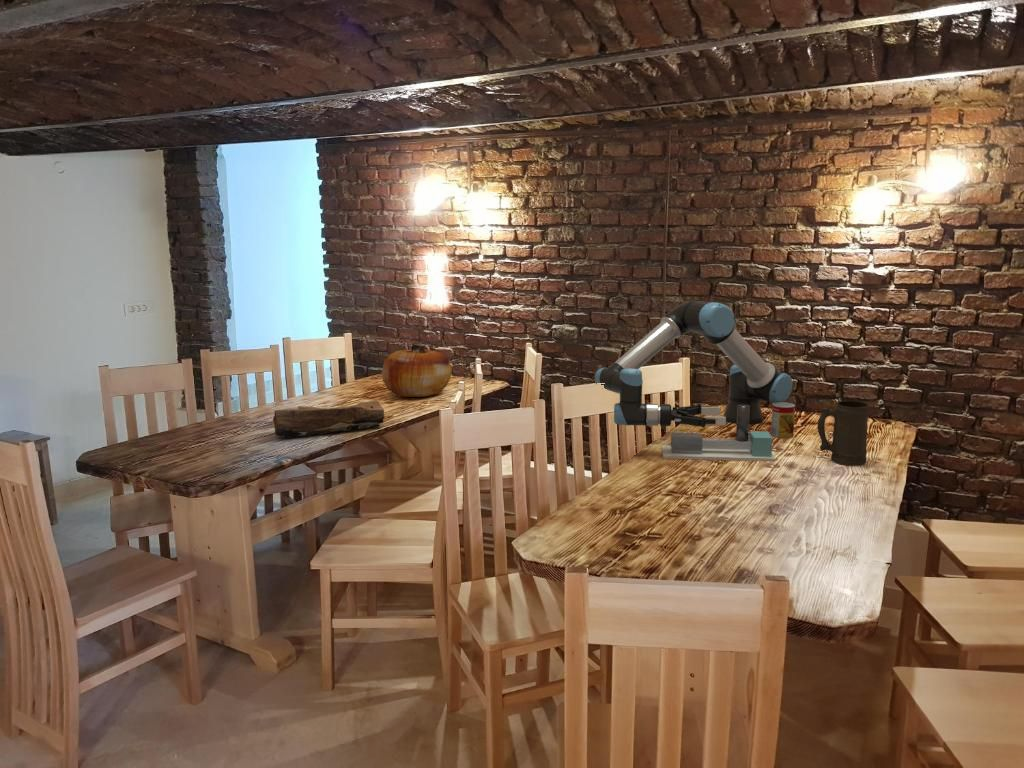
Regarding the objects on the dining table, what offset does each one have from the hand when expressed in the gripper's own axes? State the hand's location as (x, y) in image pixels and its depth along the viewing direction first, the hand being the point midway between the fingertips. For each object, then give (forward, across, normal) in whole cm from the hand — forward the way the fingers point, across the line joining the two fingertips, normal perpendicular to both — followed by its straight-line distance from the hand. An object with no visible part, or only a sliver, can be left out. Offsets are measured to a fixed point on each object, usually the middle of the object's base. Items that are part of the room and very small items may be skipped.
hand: (723, 416), depth 250 cm
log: (-149, -19, -14) cm, 151 cm away
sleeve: (-12, 0, -13) cm, 17 cm away
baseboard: (-2, 0, -14) cm, 14 cm away
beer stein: (+38, +3, -14) cm, 41 cm away
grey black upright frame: (+3, 0, -11) cm, 12 cm away
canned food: (+25, -26, -14) cm, 39 cm away
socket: (+13, 0, -13) cm, 18 cm away
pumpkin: (-132, -87, -14) cm, 159 cm away
